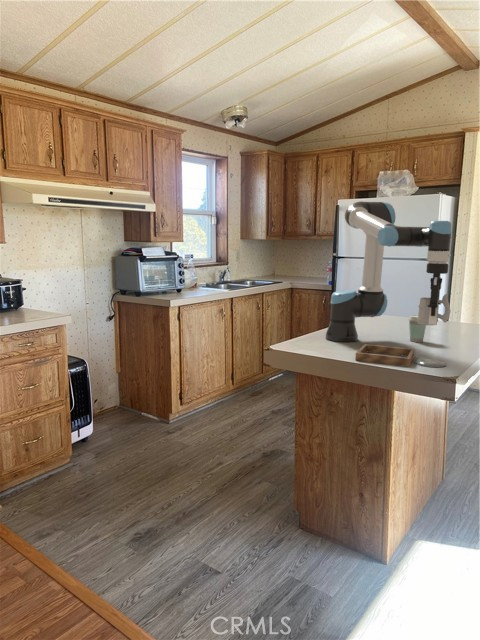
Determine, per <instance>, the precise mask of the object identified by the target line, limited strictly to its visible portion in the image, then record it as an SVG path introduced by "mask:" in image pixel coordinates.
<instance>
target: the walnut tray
mask: <svg viewBox="0 0 480 640" xmlns="http://www.w3.org/2000/svg"><path fill="white" fill-rule="evenodd" d="M415 352H416V350H415V348H407V347H396V346H386V345H377V344H376V345H375V344H365V343H364V344H363V345H362V346H361V347H360V348H359V349H358V350H357V351H356V352H355V361H360V362H368V363H375V364H383V365H385V364H386V365H392V364H394V366H401V365H404V366H403V367H411V364H412V362H413V360H414V358H415V354H416V353H415ZM391 354H392V355H391ZM400 355H403V357H402V356H400Z"/></svg>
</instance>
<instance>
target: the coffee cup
mask: <svg viewBox="0 0 480 640" xmlns="http://www.w3.org/2000/svg"><path fill="white" fill-rule="evenodd" d="M417 317H418V314H411V315H409V318H408V326H409V341H410V342H413V343H423V342H424V338H425V333H426V328H427V325H421V324H418V321H417Z"/></svg>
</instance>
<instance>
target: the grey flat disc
mask: <svg viewBox="0 0 480 640" xmlns="http://www.w3.org/2000/svg"><path fill="white" fill-rule="evenodd" d="M414 362H415V364H416V365H418V366H421V367H425V368H426V367H428V368H444V367H446V362H444V361H442V360H439V359H432V358H418V359H415V361H414Z"/></svg>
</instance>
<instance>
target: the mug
mask: <svg viewBox="0 0 480 640" xmlns="http://www.w3.org/2000/svg"><path fill="white" fill-rule="evenodd" d="M438 303H441V304H442V305H443V307H444V309H445V310H444V313H443V314H440V313H439V309H440V306H439V307H438V308H439V309H437V321H436V325H435V326H437V325H438V322H439V320H442V322H443V323H445V324H446V323H447V322H448V320H449V319H450V316H451V307H450V303H449V299H448V294H447V293H446V294H444V295H443V296H442V299H439V300H438ZM438 303H437V304H438ZM428 305H430V297H420V298H419V305H418V314H417V315H418V317H417V321H418V324H421V325H426V326H432V325H431V324H428V323H429V310H430V307H428Z"/></svg>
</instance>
